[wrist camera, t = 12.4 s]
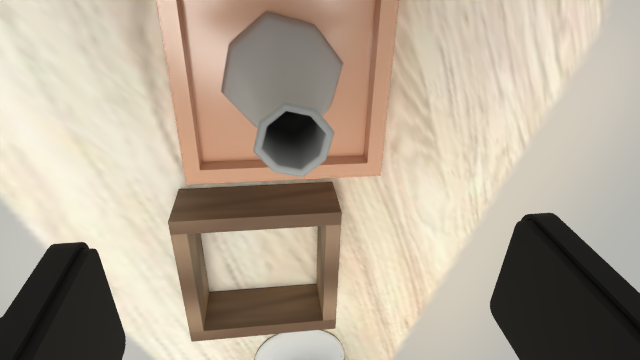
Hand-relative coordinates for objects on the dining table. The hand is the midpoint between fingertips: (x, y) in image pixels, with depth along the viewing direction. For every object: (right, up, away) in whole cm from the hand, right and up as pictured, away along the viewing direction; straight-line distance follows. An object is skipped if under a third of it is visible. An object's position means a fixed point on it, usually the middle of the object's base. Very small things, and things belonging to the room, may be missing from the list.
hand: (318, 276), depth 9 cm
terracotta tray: (-2, +9, +17) cm, 19 cm away
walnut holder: (-5, -3, +23) cm, 24 cm away
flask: (-2, +9, +16) cm, 18 cm away
